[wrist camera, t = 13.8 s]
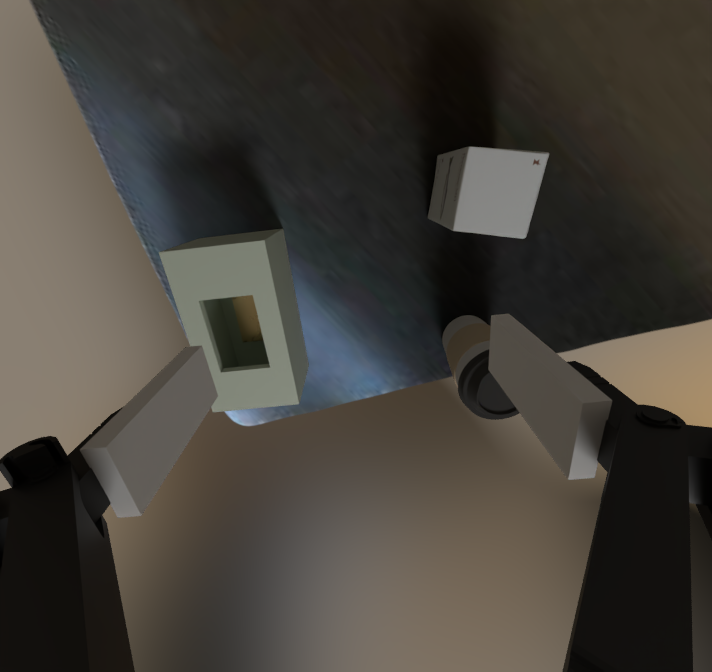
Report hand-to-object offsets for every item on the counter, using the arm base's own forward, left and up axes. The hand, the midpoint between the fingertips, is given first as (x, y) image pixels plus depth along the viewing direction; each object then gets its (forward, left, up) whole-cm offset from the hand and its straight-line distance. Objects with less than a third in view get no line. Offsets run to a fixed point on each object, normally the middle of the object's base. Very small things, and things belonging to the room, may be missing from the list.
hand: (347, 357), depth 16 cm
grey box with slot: (+7, -14, -32) cm, 35 cm away
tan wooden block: (+7, -14, -31) cm, 35 cm away
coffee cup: (+15, +15, -32) cm, 38 cm away
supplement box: (-5, +14, -32) cm, 35 cm away
